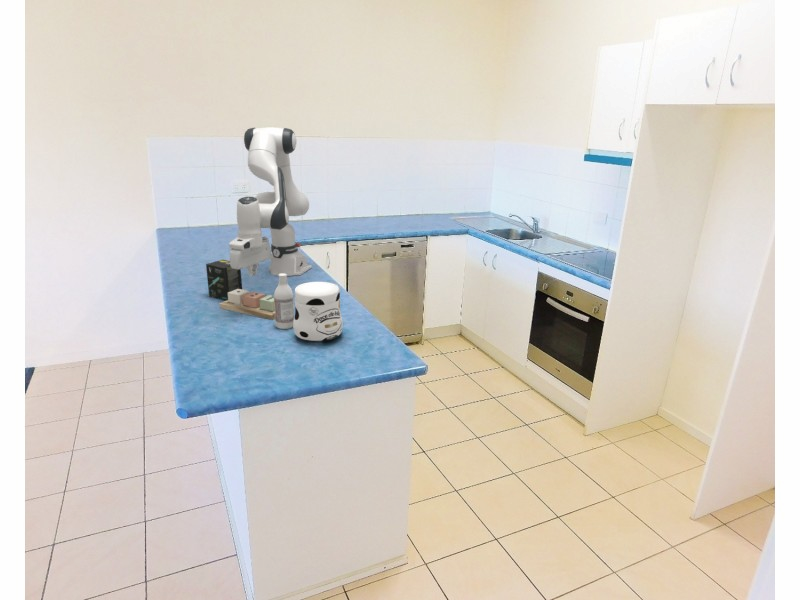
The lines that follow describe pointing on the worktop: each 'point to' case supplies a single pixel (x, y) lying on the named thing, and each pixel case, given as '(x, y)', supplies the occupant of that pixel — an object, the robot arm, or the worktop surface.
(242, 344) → the worktop surface
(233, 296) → the toy block
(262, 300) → the toy block
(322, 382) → the worktop surface
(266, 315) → the board
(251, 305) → the toy block
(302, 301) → the milk container
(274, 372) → the worktop surface
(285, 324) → the bath foam
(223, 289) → the tampon box
